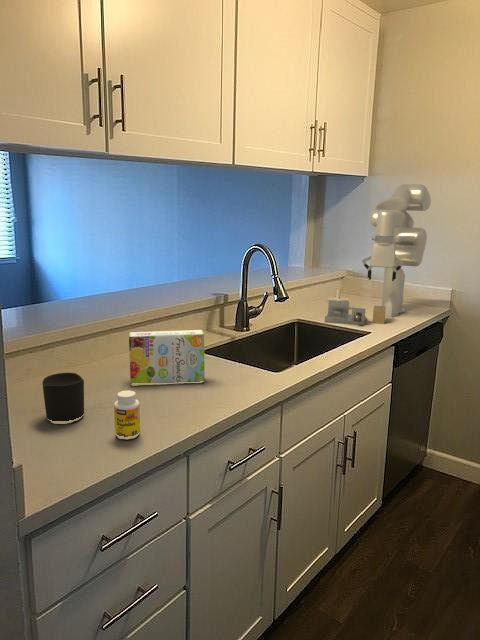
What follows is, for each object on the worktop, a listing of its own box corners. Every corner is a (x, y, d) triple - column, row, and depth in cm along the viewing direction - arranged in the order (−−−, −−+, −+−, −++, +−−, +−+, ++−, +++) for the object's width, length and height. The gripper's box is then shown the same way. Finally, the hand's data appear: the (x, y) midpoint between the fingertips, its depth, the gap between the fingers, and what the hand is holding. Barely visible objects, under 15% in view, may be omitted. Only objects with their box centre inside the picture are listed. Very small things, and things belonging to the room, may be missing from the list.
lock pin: (355, 315, 235) (355, 307, 234) (363, 316, 234) (364, 308, 234) (352, 322, 222) (353, 314, 221) (361, 323, 221) (361, 314, 220)
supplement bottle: (113, 441, 117) (111, 398, 114) (117, 430, 122) (115, 389, 120) (138, 441, 117) (137, 398, 115) (141, 430, 123) (140, 388, 120)
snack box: (202, 377, 159) (202, 329, 155) (204, 384, 153) (204, 333, 150) (130, 380, 155) (128, 330, 151) (130, 387, 150) (128, 336, 146)
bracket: (328, 316, 241) (329, 300, 239) (365, 319, 236) (366, 302, 235) (324, 322, 229) (325, 305, 228) (363, 325, 225) (365, 308, 223)
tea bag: (398, 315, 245) (400, 294, 243) (391, 317, 240) (392, 296, 238) (390, 314, 247) (392, 293, 245) (383, 316, 243) (385, 295, 240)
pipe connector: (349, 312, 249) (351, 291, 247) (328, 312, 249) (329, 291, 247) (345, 308, 259) (347, 288, 257) (325, 307, 259) (326, 287, 257)
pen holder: (92, 411, 132) (90, 374, 130) (74, 427, 123) (72, 387, 121) (57, 408, 134) (54, 371, 132) (37, 424, 125) (34, 384, 123)
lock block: (373, 319, 236) (374, 305, 234) (384, 320, 235) (385, 306, 233) (372, 323, 229) (373, 308, 228) (384, 324, 228) (385, 309, 227)
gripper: (363, 240, 223) (360, 280, 227) (405, 241, 218) (402, 282, 222) (364, 238, 230) (361, 277, 234) (405, 240, 225) (402, 280, 229)
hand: (381, 280), depth 228 cm, fingers open, 9 cm apart
